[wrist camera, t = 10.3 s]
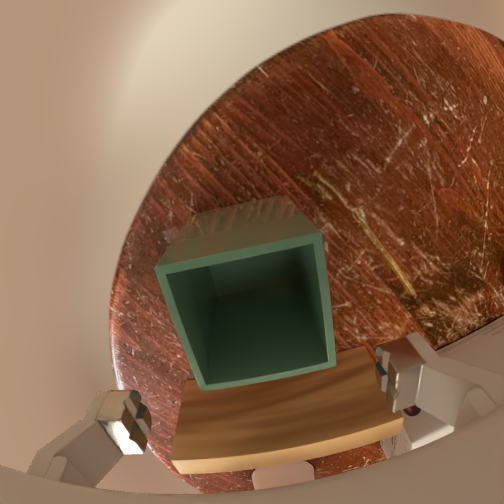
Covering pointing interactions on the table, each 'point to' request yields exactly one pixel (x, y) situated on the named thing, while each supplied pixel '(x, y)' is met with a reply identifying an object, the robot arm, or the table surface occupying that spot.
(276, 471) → the cup
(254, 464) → the stepped wooden molding
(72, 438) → the robot arm
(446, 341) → the table surface
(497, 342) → the supplement box
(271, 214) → the green rectangular container
